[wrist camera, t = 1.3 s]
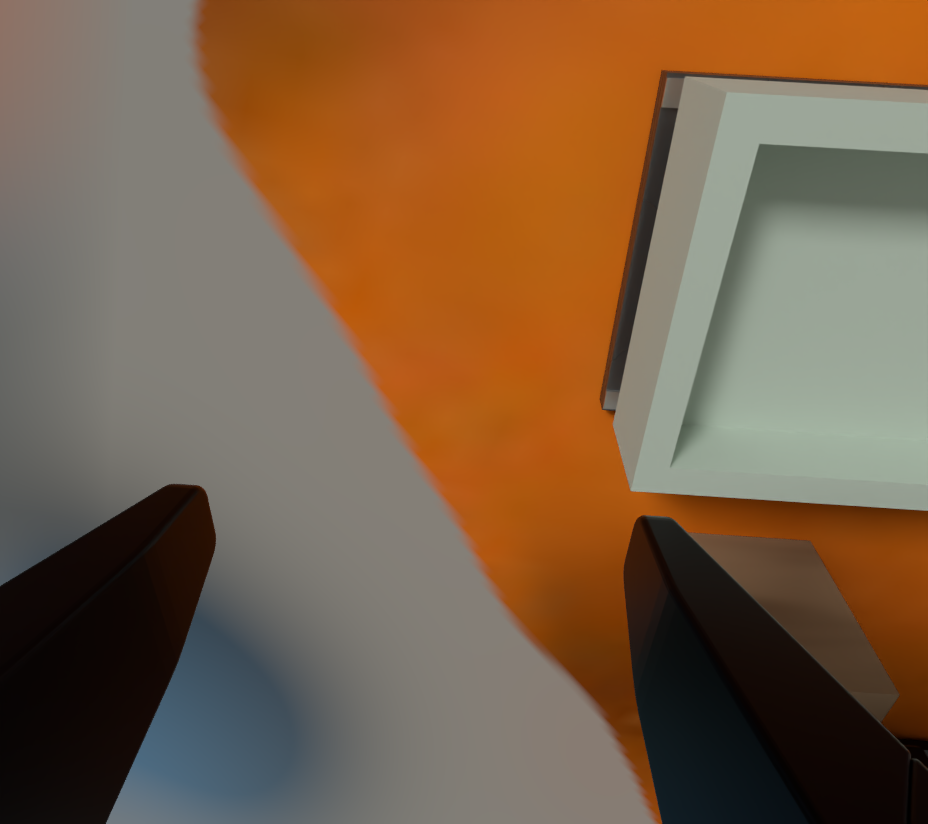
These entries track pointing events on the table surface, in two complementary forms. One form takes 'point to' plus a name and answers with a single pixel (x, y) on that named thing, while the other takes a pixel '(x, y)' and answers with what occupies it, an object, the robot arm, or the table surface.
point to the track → (649, 204)
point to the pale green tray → (785, 300)
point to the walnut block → (806, 609)
